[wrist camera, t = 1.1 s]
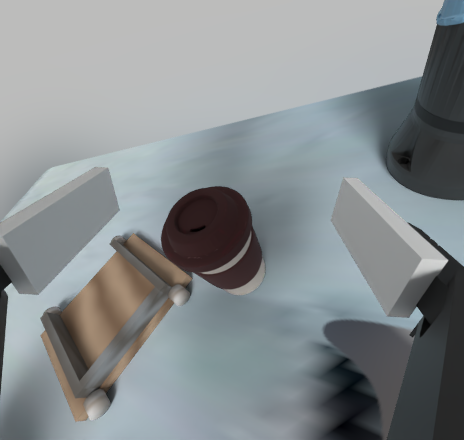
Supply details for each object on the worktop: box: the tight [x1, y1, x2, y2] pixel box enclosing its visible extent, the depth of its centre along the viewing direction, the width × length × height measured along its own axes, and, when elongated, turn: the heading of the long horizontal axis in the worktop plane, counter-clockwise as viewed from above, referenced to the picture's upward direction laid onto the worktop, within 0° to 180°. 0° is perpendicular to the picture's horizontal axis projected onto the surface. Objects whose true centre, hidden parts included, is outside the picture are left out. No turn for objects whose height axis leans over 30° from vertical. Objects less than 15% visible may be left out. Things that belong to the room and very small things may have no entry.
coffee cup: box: [161, 186, 265, 295], centre depth 28 cm, size 10×10×15 cm
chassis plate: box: [40, 233, 193, 422], centre depth 36 cm, size 22×21×4 cm
